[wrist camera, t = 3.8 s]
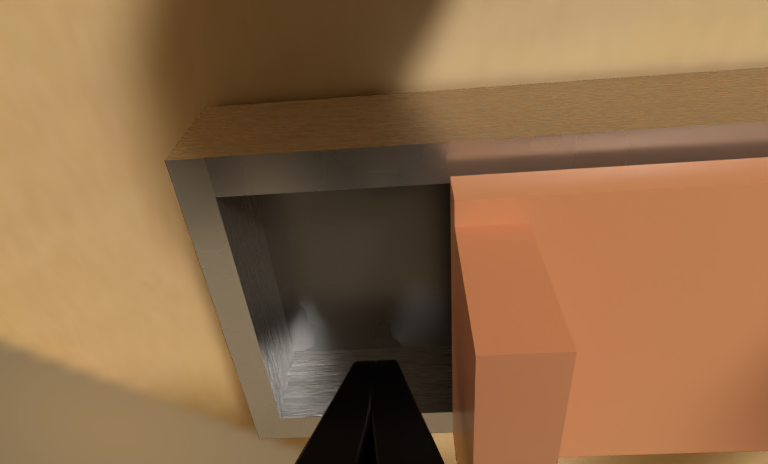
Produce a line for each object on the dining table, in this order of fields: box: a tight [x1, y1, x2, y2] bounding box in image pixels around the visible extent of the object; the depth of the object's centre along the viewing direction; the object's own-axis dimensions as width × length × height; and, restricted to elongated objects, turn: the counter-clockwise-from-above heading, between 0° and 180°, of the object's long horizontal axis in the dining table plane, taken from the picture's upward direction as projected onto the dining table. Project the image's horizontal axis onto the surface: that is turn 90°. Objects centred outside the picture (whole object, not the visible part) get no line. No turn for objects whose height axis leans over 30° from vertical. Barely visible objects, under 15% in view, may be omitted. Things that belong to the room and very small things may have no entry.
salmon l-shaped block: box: [450, 157, 768, 464], centre depth 10 cm, size 7×7×4 cm
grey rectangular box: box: [165, 68, 768, 439], centre depth 12 cm, size 13×8×2 cm, turn 94°
